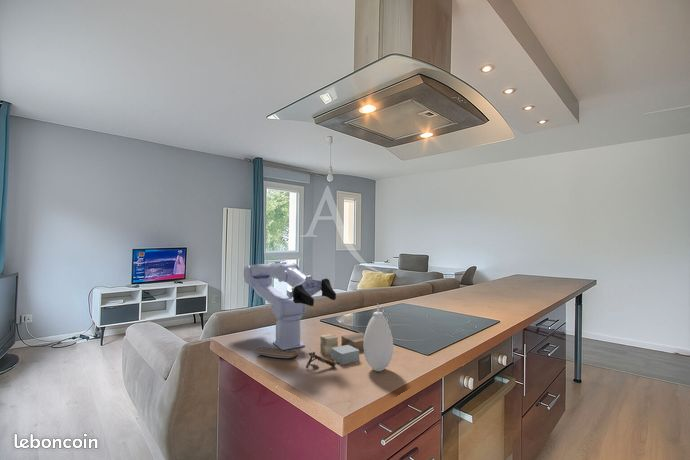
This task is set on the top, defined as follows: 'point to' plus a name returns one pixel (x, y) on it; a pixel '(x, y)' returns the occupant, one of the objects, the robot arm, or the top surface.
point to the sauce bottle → (378, 342)
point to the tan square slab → (354, 340)
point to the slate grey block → (345, 354)
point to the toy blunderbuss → (331, 363)
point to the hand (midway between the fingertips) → (324, 299)
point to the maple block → (328, 343)
